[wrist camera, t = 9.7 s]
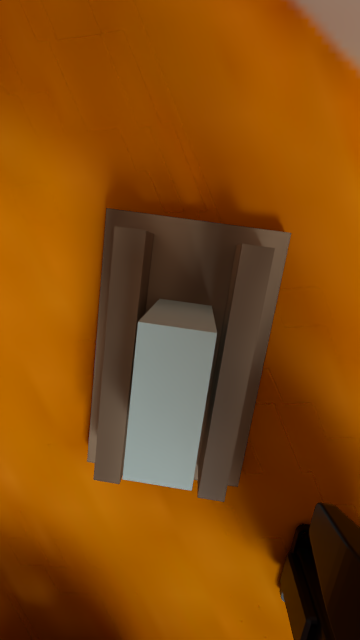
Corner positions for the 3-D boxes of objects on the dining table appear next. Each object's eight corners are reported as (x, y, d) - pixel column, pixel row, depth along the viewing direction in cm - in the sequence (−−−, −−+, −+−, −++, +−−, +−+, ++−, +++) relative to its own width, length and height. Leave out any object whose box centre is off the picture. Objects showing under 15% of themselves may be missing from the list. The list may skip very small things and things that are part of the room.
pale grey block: (211, 305, 17) (216, 333, 11) (194, 416, 19) (191, 490, 13) (159, 298, 17) (138, 321, 11) (146, 408, 19) (122, 479, 13)
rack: (285, 234, 17) (307, 229, 13) (236, 475, 20) (243, 520, 17) (111, 210, 17) (89, 200, 14) (92, 451, 21) (71, 490, 17)
